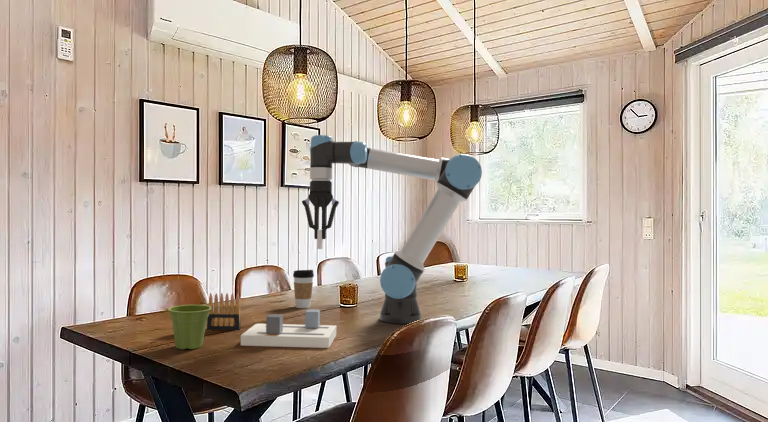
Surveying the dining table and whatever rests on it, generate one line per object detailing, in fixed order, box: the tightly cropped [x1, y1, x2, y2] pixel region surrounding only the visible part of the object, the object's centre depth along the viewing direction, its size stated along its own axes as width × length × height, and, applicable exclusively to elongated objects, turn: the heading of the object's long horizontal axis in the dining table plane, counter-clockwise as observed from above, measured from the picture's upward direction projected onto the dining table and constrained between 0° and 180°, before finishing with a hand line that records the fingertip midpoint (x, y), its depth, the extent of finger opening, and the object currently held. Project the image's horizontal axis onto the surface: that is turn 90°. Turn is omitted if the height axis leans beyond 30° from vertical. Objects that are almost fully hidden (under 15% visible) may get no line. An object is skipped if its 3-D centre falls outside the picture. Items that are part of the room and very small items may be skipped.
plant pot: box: [168, 304, 212, 350], centre depth 157 cm, size 12×12×11 cm
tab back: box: [304, 308, 321, 328], centre depth 171 cm, size 4×4×5 cm
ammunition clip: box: [206, 292, 242, 331], centre depth 180 cm, size 11×2×12 cm, turn 93°
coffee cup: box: [292, 269, 315, 309], centre depth 221 cm, size 8×8×15 cm
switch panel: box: [240, 323, 337, 349], centre depth 167 cm, size 26×16×3 cm, turn 87°
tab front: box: [265, 313, 284, 334], centre depth 163 cm, size 4×4×5 cm
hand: (320, 248), depth 189 cm, fingers closed
